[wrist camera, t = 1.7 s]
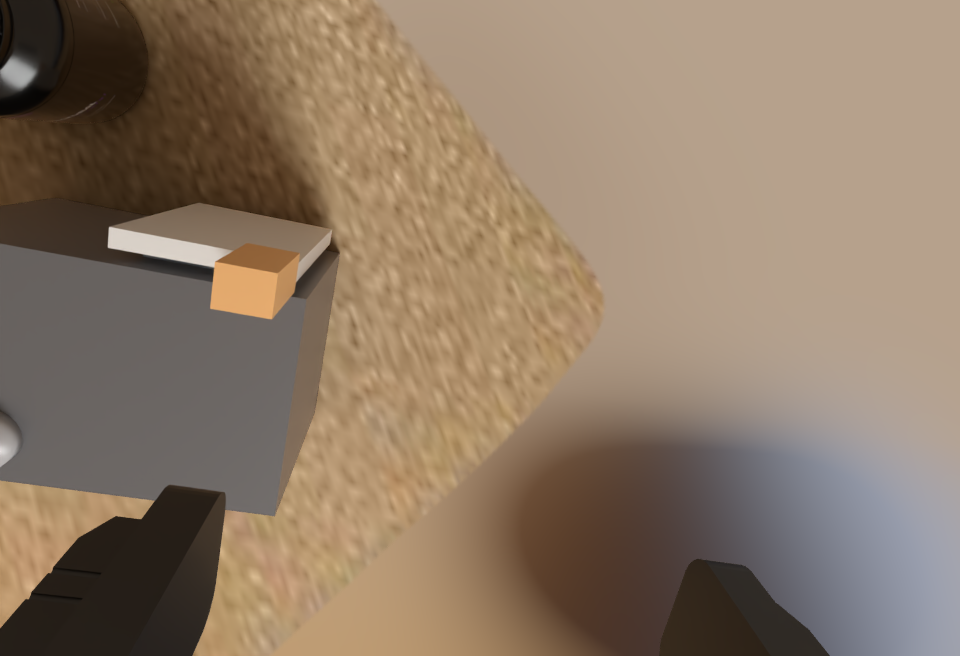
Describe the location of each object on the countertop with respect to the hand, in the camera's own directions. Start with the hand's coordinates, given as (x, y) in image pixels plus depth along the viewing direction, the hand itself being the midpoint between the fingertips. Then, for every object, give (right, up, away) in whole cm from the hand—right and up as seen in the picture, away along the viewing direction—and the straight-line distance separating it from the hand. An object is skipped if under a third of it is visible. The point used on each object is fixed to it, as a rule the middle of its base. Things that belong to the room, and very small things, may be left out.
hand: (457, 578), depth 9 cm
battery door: (-11, +9, +24) cm, 28 cm away
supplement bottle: (-20, +18, +22) cm, 34 cm away
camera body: (-16, +5, +26) cm, 31 cm away
